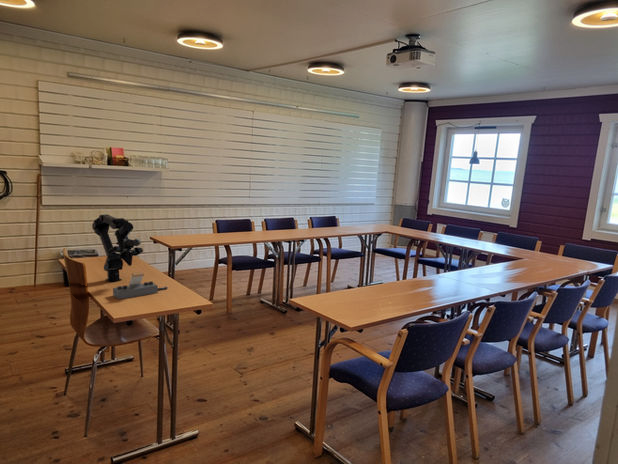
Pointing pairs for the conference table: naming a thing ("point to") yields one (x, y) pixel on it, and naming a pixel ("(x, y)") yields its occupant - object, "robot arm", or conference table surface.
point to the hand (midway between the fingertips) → (130, 265)
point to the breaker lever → (136, 278)
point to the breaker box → (136, 290)
